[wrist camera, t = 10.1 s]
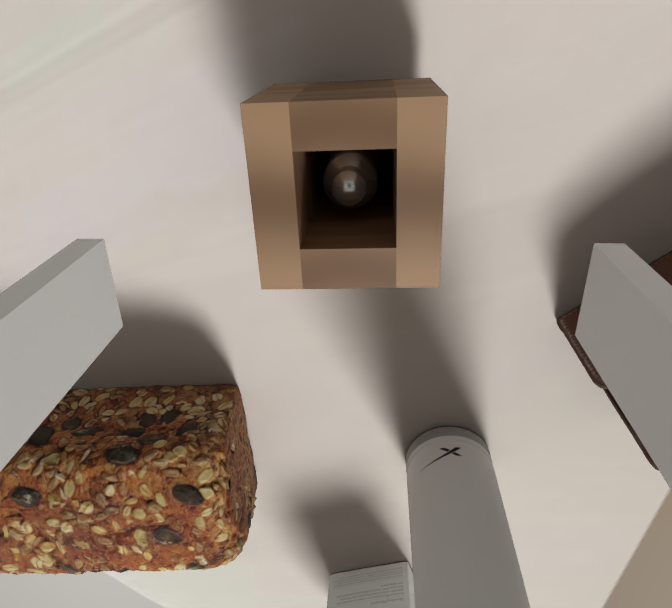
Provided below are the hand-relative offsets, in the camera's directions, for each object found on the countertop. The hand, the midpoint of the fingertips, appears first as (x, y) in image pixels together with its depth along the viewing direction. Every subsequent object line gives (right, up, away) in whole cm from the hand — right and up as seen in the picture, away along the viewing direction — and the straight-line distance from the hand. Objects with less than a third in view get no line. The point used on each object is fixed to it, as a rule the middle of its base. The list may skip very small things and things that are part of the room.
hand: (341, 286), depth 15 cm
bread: (-15, -11, +28) cm, 34 cm away
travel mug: (+8, -12, +27) cm, 30 cm away
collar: (+1, +7, +15) cm, 17 cm away
